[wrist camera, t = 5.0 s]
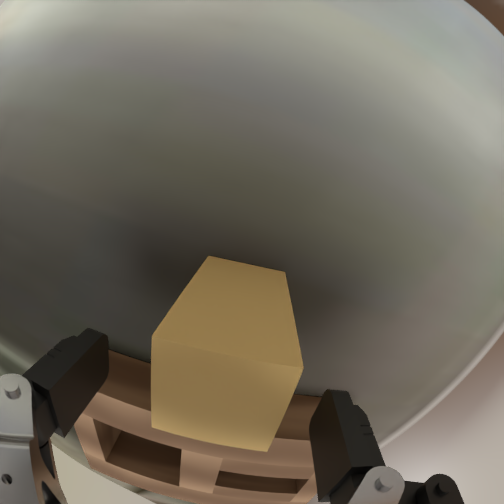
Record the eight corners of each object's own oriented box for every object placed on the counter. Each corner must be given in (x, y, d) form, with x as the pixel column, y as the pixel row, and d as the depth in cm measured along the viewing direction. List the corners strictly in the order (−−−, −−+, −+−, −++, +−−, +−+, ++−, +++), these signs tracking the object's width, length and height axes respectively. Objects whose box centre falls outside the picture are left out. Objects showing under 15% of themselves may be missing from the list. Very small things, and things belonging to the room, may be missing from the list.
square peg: (208, 255, 15) (152, 335, 7) (284, 272, 15) (303, 368, 7) (197, 322, 16) (151, 427, 8) (267, 337, 16) (267, 451, 8)
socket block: (89, 342, 16) (58, 373, 13) (346, 399, 17) (359, 441, 13) (106, 439, 19) (90, 467, 16) (294, 480, 20) (296, 513, 16)
